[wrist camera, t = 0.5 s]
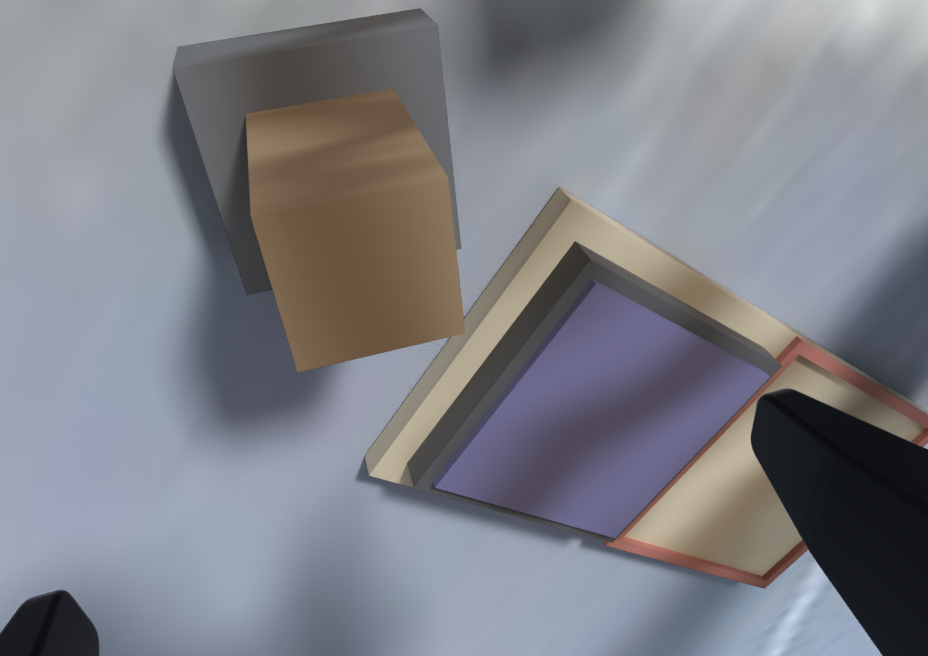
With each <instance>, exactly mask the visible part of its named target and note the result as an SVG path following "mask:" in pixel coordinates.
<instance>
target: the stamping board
mask: <svg viewBox="0 0 928 656" xmlns="http://www.w3.org/2000/svg"><path fill="white" fill-rule="evenodd" d="M464 325H465V333H464V334H460V335H456V336H451V338H450V339H449V340H448V342H447V343H446V344H445V346H444V347H443V349H442V350H441V351H440V353H439V354H438V356H437V357H436V358H435V360H434V361H433V362H432V364H431V365H430V367H429V368H428V369H427V371H426V372H425V374H424V375H423V376H422V378H421V379H420V380H419V382H418V383H417V385H416V386H415V387H414V389H413V390H412V392H411V393H410V394H409V396H408V397H407V398H406V400H405V401H404V403H403V404H402V405H401V407H400V408H399V410H398V411H397V412H396V414H395V415H394V416H393V418H392V419H391V421H390V422H389V423H388V425H387V426H386V428H385V429H384V430H383V432H382V433H381V434H380V436H379V437H378V439H377V440H376V441H375V443H374V444H373V446H372V447H371V448H370V450H369V451H368V452H367V454H366V455H365V459H366V464H367V468H368V473H369V476H372V477H376V478H379V479H383V480H387V481H390V482H394V483H398V484H401V485H405V486H408V487H412V488H416V489H419V490H423V491H427V492H430V493H434V494H437V495H441V496H445V497H448V498H452V499H456V500H459V501H463V502H466V503H470V504H474V505H477V506H481V507H485V508H488V509H492V510H495V511H499V512H503V513H506V514H510V515H514V516H517V517H521V518H524V519H528V520H532V521H535V522H539V523H543V524H546V525H550V526H553V527H557V528H561V529H564V530H568V531H572V532H575V533H579V534H582V535H586V536H590V537H593V538H597V539H601V540H603V542H604V544H605V545H606V546H609V547H613V548H617V549H620V550H624V551H628V552H631V553H635V554H639V555H642V556H646V557H650V558H653V559H657V560H661V561H665V562H668V563H672V564H676V565H679V566H683V567H687V568H690V569H694V570H698V571H701V572H705V573H709V574H713V575H716V576H720V577H724V578H727V579H731V580H735V581H738V582H742V583H746V584H749V585H753V586H757V587H760V588H764V589H765V588H766V587H767V586H768V585H769V584H770V583H771V582H773V581H774V580H775V579H776V578H777V577H778V576H779V575H780V574H782V573H783V572H784V571H785V570H786V569H787V568H788V567H789V566H790V565H792V564H793V563H794V562H795V561H796V560H797V559H798V558H799V557H801V556H802V555H803V554H804V553H805V552H806V551H807V550H808V548H807V546H806V545H805V543H804V541H803V540H802V538H801V536H800V535H799V533H798V531H797V529H796V528H795V526H794V524H793V522H792V520H791V519H790V517H789V515H788V513H787V512H786V510H785V508H784V506H783V504H782V503H781V501H780V499H779V497H778V495H777V494H776V492H775V490H774V488H773V487H772V485H771V483H770V481H769V479H768V478H767V476H766V474H765V472H764V470H763V469H762V467H761V465H760V463H759V462H758V460H757V458H756V456H755V454H754V452H753V449H752V446H751V431H752V426H753V421H754V416H755V410H756V405H757V401H758V399H759V398H760V397H761V396H762V395H764V394H766V393H770V392H773V391H777V390H781V389H785V388H790V389H794V390H796V391H799V392H801V393H803V394H805V395H808V396H810V397H812V398H814V399H817V400H819V401H821V402H823V403H826V404H828V405H830V406H832V407H834V408H837V409H839V410H841V411H843V412H846V413H848V414H850V415H852V416H854V417H857V418H859V419H861V420H863V421H866V422H868V423H870V424H872V425H875V426H877V427H879V428H881V429H883V430H886V431H888V432H890V433H892V434H895V435H897V436H899V437H901V438H903V439H906V440H908V441H910V442H912V443H915V444H917V445H919V446H921V447H924V446H925V445H926V444H927V443H928V412H927V411H926V410H925V409H924V408H922V407H921V406H919V405H917V404H916V403H914V402H912V401H911V400H909V399H907V398H906V397H904V396H902V395H901V394H899V393H898V392H896V391H894V390H893V389H891V388H889V387H888V386H886V385H884V384H883V383H881V382H879V381H878V380H876V379H874V378H873V377H871V376H870V375H868V374H866V373H865V372H863V371H861V370H860V369H858V368H856V367H855V366H853V365H851V364H850V363H848V362H846V361H845V360H843V359H842V358H840V357H838V356H837V355H835V354H833V353H832V352H830V351H828V350H827V349H825V348H823V347H822V346H820V345H818V344H817V343H815V342H814V341H812V340H810V339H809V338H807V337H805V336H804V335H802V334H800V333H799V332H797V331H795V330H794V329H792V328H790V327H789V326H787V325H786V324H784V323H782V322H781V321H779V320H777V319H776V318H774V317H772V316H771V315H769V314H767V313H766V312H764V311H762V310H761V309H759V308H758V307H756V306H754V305H753V304H751V303H749V302H748V301H746V300H744V299H743V298H741V297H739V296H738V295H736V294H734V293H733V292H731V291H730V290H728V289H726V288H725V287H723V286H721V285H720V284H718V283H716V282H715V281H713V280H711V279H710V278H708V277H706V276H705V275H703V274H702V273H700V272H698V271H697V270H695V269H693V268H692V267H690V266H688V265H687V264H685V263H683V262H682V261H680V260H678V259H677V258H675V257H674V256H672V255H670V254H669V253H667V252H665V251H664V250H662V249H660V248H659V247H657V246H655V245H654V244H652V243H650V242H649V241H647V240H645V239H644V238H642V237H641V236H639V235H637V234H636V233H634V232H632V231H631V230H629V229H627V228H626V227H624V226H622V225H621V224H619V223H617V222H616V221H614V220H613V219H611V218H609V217H608V216H606V215H604V214H603V213H601V212H599V211H598V210H596V209H594V208H593V207H591V206H589V205H588V204H586V203H585V202H583V201H581V200H580V199H578V198H576V197H575V196H573V195H571V194H570V193H568V192H566V191H565V190H563V189H561V188H560V187H559V188H558V189H557V191H556V192H555V193H554V195H553V196H552V198H551V199H550V200H549V202H548V203H547V205H546V206H545V207H544V209H543V210H542V211H541V213H540V214H539V216H538V217H537V218H536V220H535V221H534V223H533V224H532V225H531V227H530V228H529V229H528V231H527V232H526V234H525V235H524V236H523V238H522V239H521V241H520V242H519V243H518V245H517V246H516V247H515V249H514V250H513V252H512V253H511V254H510V256H509V257H508V259H507V260H506V261H505V263H504V264H503V265H502V267H501V268H500V270H499V271H498V272H497V274H496V275H495V277H494V278H493V279H492V281H491V282H490V284H489V285H488V286H487V288H486V289H485V290H484V292H483V293H482V295H481V296H480V297H479V299H478V300H477V302H476V303H475V304H474V306H473V307H472V308H471V310H470V311H469V313H468V314H467V315H466V317H465V318H464Z"/></svg>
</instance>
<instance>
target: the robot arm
mask: <svg viewBox="0 0 928 656" xmlns="http://www.w3.org/2000/svg"><path fill="white" fill-rule="evenodd" d="M751 446H752V449H753V452H754V454H755V456H756V458H757V460H758V462H759V463H760V465H761V467H762V469H763V470H764V472H765V474H766V476H767V478H768V479H769V481H770V483H771V485H772V487H773V488H774V490H775V492H776V494H777V495H778V497H779V499H780V501H781V503H782V504H783V506H784V508H785V510H786V512H787V513H788V515H789V517H790V519H791V520H792V522H793V524H794V526H795V528H796V529H797V531H798V533H799V535H800V536H801V538H802V540H803V541H804V543H805V545H806V546H807V548H808V550H809V551H810V553H811V554H812V556H813V557H814V559H815V560H816V562H817V563H818V565H819V566H820V568H821V569H822V570H823V572H824V573H825V575H826V576H827V577H828V579H829V580H830V582H831V583H832V585H833V586H834V587H835V589H836V590H837V592H838V593H839V594H840V596H841V597H842V599H843V600H844V602H845V603H846V604H847V606H848V607H849V609H850V610H851V611H852V613H853V614H854V616H855V617H856V619H857V620H858V621H859V623H860V624H861V626H862V627H863V629H864V630H865V631H866V633H867V634H868V636H869V637H870V638H871V640H872V641H873V643H874V644H875V646H876V647H877V648H878V650H879V651H880V653H881V654H882V655H883V656H928V449H926V448H924V447H921V446H919V445H917V444H915V443H912V442H910V441H908V440H906V439H903V438H901V437H899V436H897V435H895V434H892V433H890V432H888V431H886V430H883V429H881V428H879V427H877V426H875V425H872V424H870V423H868V422H866V421H863V420H861V419H859V418H857V417H854V416H852V415H850V414H848V413H846V412H843V411H841V410H839V409H837V408H834V407H832V406H830V405H828V404H826V403H823V402H821V401H819V400H817V399H814V398H812V397H810V396H808V395H805V394H803V393H801V392H799V391H796V390H794V389H790V388H785V389H781V390H777V391H773V392H770V393H766V394H764V395H762V396H761V397H760V398H759V399H758V401H757V405H756V410H755V416H754V421H753V426H752V431H751ZM0 656H99V639H98V634H97V631H96V629H95V626H94V625H93V623H92V622H91V621H90V619H89V618H88V617H87V615H86V614H85V613H84V611H83V610H82V609H81V607H80V606H79V605H78V603H77V602H76V601H75V599H74V598H73V597H72V596H71V594H70V593H69V592H67V591H64V590H57V591H54V592H50V593H46V594H43V595H39V596H36V597H32V598H30V599H28V600H27V601H25V602H24V603H23V604H22V605H21V606H20V607H19V609H18V610H17V611H16V613H15V614H14V615H13V617H12V618H11V619H10V621H9V622H8V623H7V625H6V626H5V627H4V629H3V630H2V631H1V633H0Z"/></svg>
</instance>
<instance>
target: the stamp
mask: <svg viewBox="0 0 928 656" xmlns="http://www.w3.org/2000/svg"><path fill="white" fill-rule="evenodd" d="M173 71H174V74H175V77H176V80H177V84H178V87H179V90H180V93H181V96H182V99H183V102H184V105H185V108H186V111H187V114H188V117H189V120H190V123H191V126H192V129H193V132H194V135H195V138H196V141H197V144H198V147H199V150H200V154H201V157H202V160H203V163H204V166H205V169H206V172H207V175H208V178H209V181H210V184H211V187H212V190H213V193H214V196H215V199H216V202H217V205H218V208H219V211H220V214H221V217H222V220H223V224H224V227H225V230H226V233H227V236H228V239H229V242H230V245H231V248H232V251H233V254H234V257H235V260H236V263H237V266H238V269H239V272H240V275H241V278H242V281H243V284H244V287H245V290H246V294H247V295H248V294H253V293H257V292H262V291H267V290H271V289H273V292H274V296H275V299H276V302H277V306H278V309H279V312H280V316H281V319H282V322H283V326H284V329H285V332H286V336H287V339H288V342H289V346H290V349H291V352H292V356H293V359H294V362H295V366H296V369H297V372H302V371H307V370H311V369H315V368H319V367H324V366H328V365H332V364H336V363H341V362H345V361H349V360H353V359H358V358H362V357H366V356H370V355H375V354H379V353H383V352H388V351H392V350H396V349H400V348H405V347H409V346H413V345H417V344H422V343H426V342H430V341H434V340H439V339H443V338H447V337H451V336H456V335H460V334H464V333H465V325H464V316H463V307H462V298H461V289H460V280H459V271H458V262H457V253H456V250H457V249H461V241H460V232H459V223H458V213H457V204H456V194H455V185H454V176H453V166H452V157H451V147H450V138H449V128H448V119H447V110H446V100H445V91H444V81H443V72H442V63H441V53H440V44H439V34H438V25H437V24H436V23H435V22H434V21H433V20H432V19H431V18H430V17H429V16H428V15H426V14H425V13H424V12H423V11H422V10H421V9H413V10H407V11H401V12H394V13H388V14H382V15H375V16H369V17H363V18H356V19H350V20H344V21H338V22H331V23H325V24H319V25H312V26H306V27H300V28H293V29H287V30H281V31H274V32H268V33H262V34H255V35H249V36H243V37H236V38H230V39H224V40H217V41H211V42H205V43H199V44H192V45H186V46H180V47H178V48H177V52H176V56H175V60H174V64H173Z"/></svg>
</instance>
